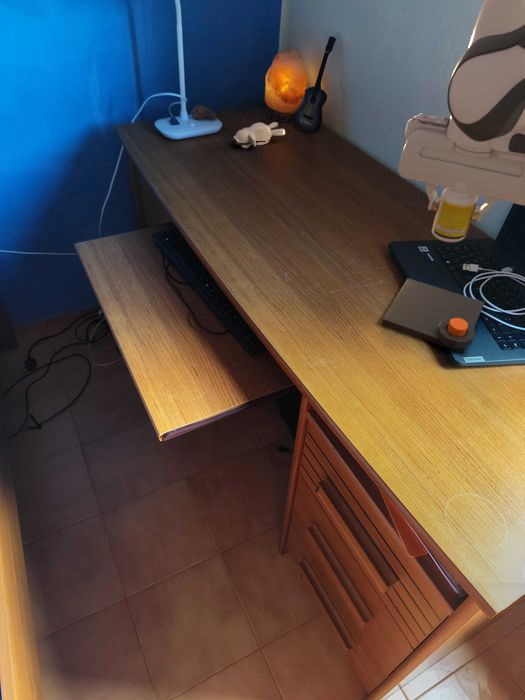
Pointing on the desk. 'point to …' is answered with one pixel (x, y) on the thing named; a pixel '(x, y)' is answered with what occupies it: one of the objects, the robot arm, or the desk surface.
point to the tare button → (457, 327)
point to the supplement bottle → (454, 213)
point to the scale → (433, 314)
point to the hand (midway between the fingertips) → (454, 214)
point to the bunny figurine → (257, 134)
